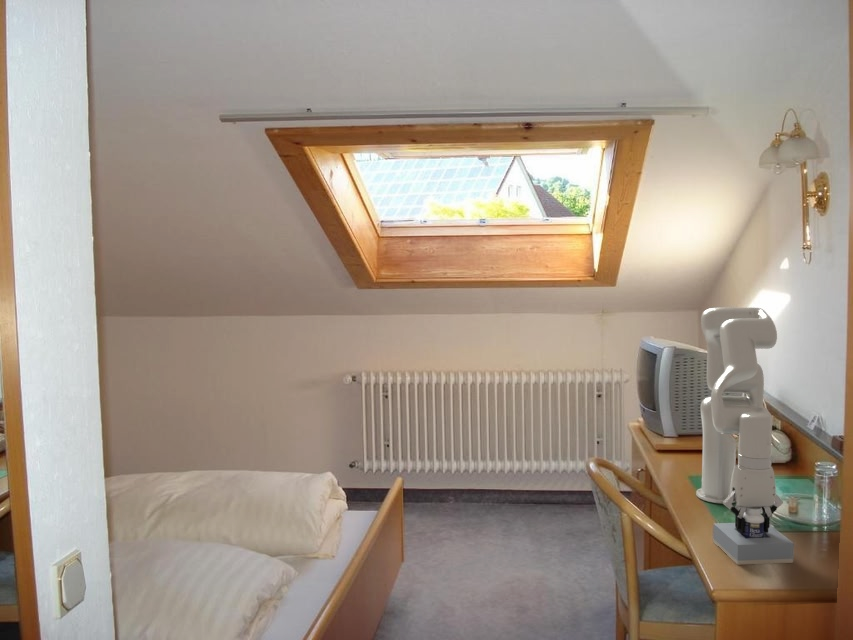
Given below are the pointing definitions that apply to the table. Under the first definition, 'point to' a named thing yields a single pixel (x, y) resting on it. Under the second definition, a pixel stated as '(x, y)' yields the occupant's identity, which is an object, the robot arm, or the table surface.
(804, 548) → the table surface
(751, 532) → the pill bottle
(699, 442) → the table surface
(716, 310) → the robot arm
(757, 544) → the socket block
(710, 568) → the table surface
